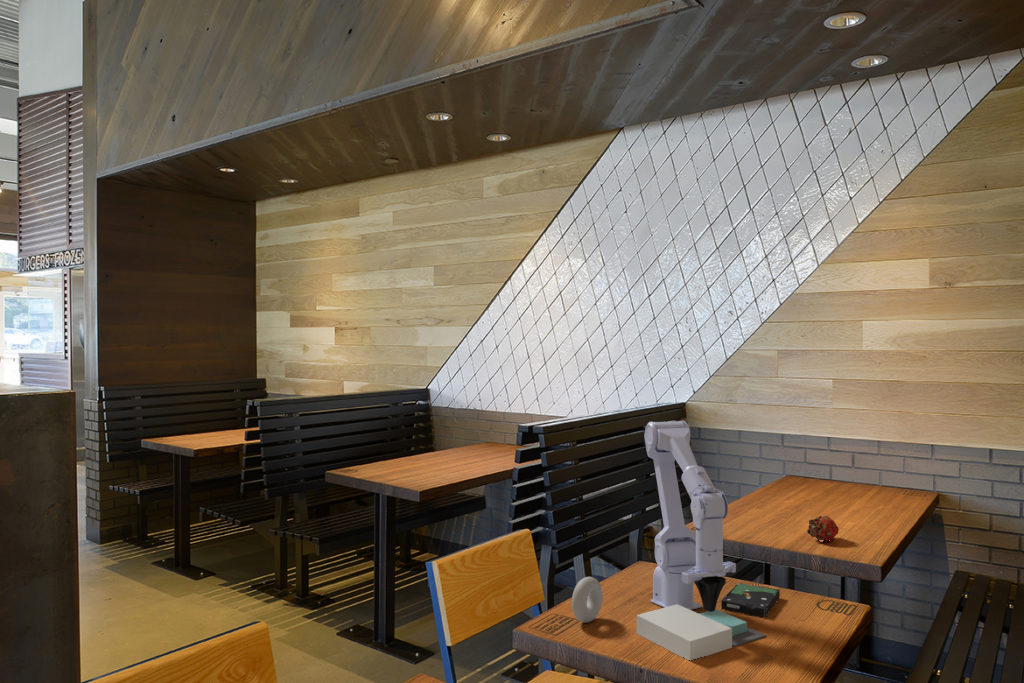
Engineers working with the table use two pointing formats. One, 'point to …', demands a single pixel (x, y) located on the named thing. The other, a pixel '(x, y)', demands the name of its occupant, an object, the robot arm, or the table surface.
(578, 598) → the donut
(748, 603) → the disk drive
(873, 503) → the table surface
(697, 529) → the robot arm
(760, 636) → the mat
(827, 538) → the dragon fruit
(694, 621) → the white flat block
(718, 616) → the teal rectangular block
